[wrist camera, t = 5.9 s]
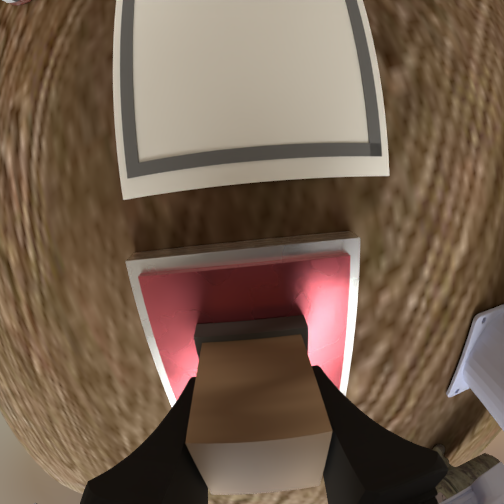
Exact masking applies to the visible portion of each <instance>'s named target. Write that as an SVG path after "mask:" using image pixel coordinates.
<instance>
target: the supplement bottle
mask: <svg viewBox="0 0 504 504" xmlns="http://www.w3.org/2000/svg"><path fill="white" fill-rule="evenodd" d="M3 1H5V2H7V3H9V4H12V5H23V4H25V3H28V2H30V1H32V0H3Z"/></svg>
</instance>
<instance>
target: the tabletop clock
mask: <svg viewBox="0 0 504 504" xmlns="http://www.w3.org/2000/svg"><path fill="white" fill-rule="evenodd" d="M432 450H434V451H437V452H438V453H439V455H440V456H441V457H442V459H443V460H444V462H445V464H446V466H447V467H448V472H447V474H446V476H445V477H444V478H443V479H442V481H441V482H440V483H439V484H438V485H437V486H436V487H435V488H436V490H437V492H438V495H437V496H435V497H436V499H437V501H438V503H441V502H443V501H444V500H446V499H448V498H450V497H452V496H454V495H455V494H457V493H459V492H461V491H462V490H464V489H466V488H467V487H469V486H470V485H472V483H473V482H474V481H475V480H476V479H477V478H478V477H480V476H481V475H482V474H484V473H485V472H486V471H488V470H489V469H491V468H492V467H494V466H495V465H496V464H498V463H499V462H500V461H499V460H498V459H496V458H495V457H493V456H491V455H488V454H486V453H484V454H482V455H480V456H477V457H476V458H474V459H472V460H470V461H468V462H466V463H464V464H462V465H460V466H458V467H453V466H451V465H450V464H449V460H448V459H447V458H445V457H444V456H443V454H444V452H445V447H444V446H443V445H441V444H439V445H436V446H435V447H434V448H433V449H432Z"/></svg>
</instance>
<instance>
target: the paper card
mask: <svg viewBox="0 0 504 504" xmlns="http://www.w3.org/2000/svg"><path fill="white" fill-rule="evenodd" d="M113 100H114V120H115V134H116V146H117V156H118V165H119V173H120V181H121V188H122V195H123V200H126V199H132V198H138V197H144V196H150V195H157V194H164V193H170V192H177V191H185V190H192V189H200V188H208V187H217V186H225V185H235V184H245V183H255V182H267V181H279V180H293V179H309V178H329V177H356V176H389V157H388V142H387V129H386V119H385V110H384V102H383V94H382V87H381V81H380V74H379V69H378V63H377V58H376V53H375V48H374V43H373V38H372V34H371V30H370V26H369V22H368V18H367V14H366V10H365V7H364V3H363V0H116V10H115V23H114V42H113Z"/></svg>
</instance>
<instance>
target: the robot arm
mask: <svg viewBox="0 0 504 504" xmlns="http://www.w3.org/2000/svg"><path fill="white" fill-rule="evenodd" d="M312 368H313V371H314V375H315V378H316V381H317V384H318V387H319V390H320V393H321V396H322V399H323V402H324V405H325V409H326V412H327V415H328V418H329V421H330V424H331V428H332V436H331V441H330V446H329V450H328V454H327V459H326V463H325V467H324V471H323V476H324V481H325V487H326V493H327V498H328V504H504V465H503V463H502V462H499V463H498V464H496V465H495V466H494V467H492V468H491V469H489V470H488V471H486V472H485V473H484V474H482V475H481V476H480V477H478V478H477V479H476V480H475V481H474V482H473V483H472V485H470V486H469V487H467V488H466V489H464V490H462V491H461V492H459V493H457V494H455V495H454V496H452V497H450V498H448V499H446V500H444V501H443V502H441V503H438V501H437V499H436V497H435V496H437V495H438V492H437V490H436V488H435V487H436V486H437V485H438V484H439V483H440V482H441V481H442V479H443V478H444V477H445V476H446V474H447V472H448V467H447V466H446V464H445V462H444V460H443V459H442V457H441V456H440V455H439V453H438V452H437V451H434V450H431V449H428V448H425V447H422V446H419V445H416V444H414V443H412V442H410V441H407V440H405V439H403V438H401V437H399V436H398V435H396V434H394V433H392V432H390V431H389V430H387V429H385V428H384V427H382V426H381V425H379V424H378V423H376V422H375V421H373V420H372V419H371V418H369V417H368V416H367V415H366V414H364V413H363V412H362V411H361V410H359V409H358V408H357V407H356V406H355V405H354V404H353V403H352V402H351V401H350V400H349V399H348V398H347V397H346V396H345V395H344V394H343V393H342V392H341V391H340V390H339V389H338V388H337V387H336V386H335V385H334V383H333V382H332V381H331V380H330V379H329V378H328V376H327V375H326V374H325V373H324V371H323V370H322V369H321V367H320V366H318V365H314V366H312ZM195 380H196V377H191V378H190V379H189V381H188V383H187V384H186V386H185V388H184V390H183V391H182V393H181V395H180V396H179V398H178V399H177V401H176V402H175V404H174V405H173V407H172V408H171V410H170V411H169V413H168V414H167V415H166V417H165V418H164V419H163V421H162V422H161V423H160V424H159V426H158V427H157V428H156V429H155V431H154V432H153V433H152V434H151V435H150V436H149V437H148V438H147V439H146V440H145V441H144V442H143V443H142V444H141V445H140V446H139V447H138V448H137V449H136V450H135V451H134V452H132V453H131V454H130V455H129V456H128V457H126V458H125V459H124V460H122V461H121V462H120V463H118V464H117V465H115V466H114V467H113V468H111V469H110V470H108V471H106V472H105V473H103V474H101V475H99V476H97V477H95V478H94V479H92V480H90V481H88V483H87V485H86V487H85V490H84V493H83V496H82V499H81V502H80V504H208V487H207V485H206V483H205V481H204V479H203V477H202V476H201V474H200V472H199V470H198V468H197V466H196V464H195V462H194V460H193V458H192V456H191V454H190V452H189V450H188V448H187V446H186V444H185V442H186V435H187V429H188V422H189V416H190V410H191V404H192V397H193V391H194V386H195ZM469 388H470V389H471V390H472V391H473V392H474V393H475V395H476V396H477V397H478V398H479V400H480V401H481V402H482V403H483V405H484V406H485V407H486V409H487V410H488V411H489V412H490V414H491V415H492V416H493V418H494V419H495V420H496V422H497V423H498V424H499V426H500V427H501V428H502V430H503V431H504V304H503V305H500V306H498V307H495V308H492V309H490V310H487V311H484V312H481V313H479V314H477V315H476V316H475V317H474V319H473V321H472V325H471V328H470V332H469V335H468V338H467V341H466V344H465V347H464V350H463V353H462V355H461V358H460V361H459V364H458V366H457V369H456V371H455V374H454V376H453V379H452V381H451V384H450V386H449V388H448V390H447V393H446V394H447V396H448V397H452V396H454V395H456V394H459V393H461V392H463V391H465V390H467V389H469ZM34 504H37V503H34Z"/></svg>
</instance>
